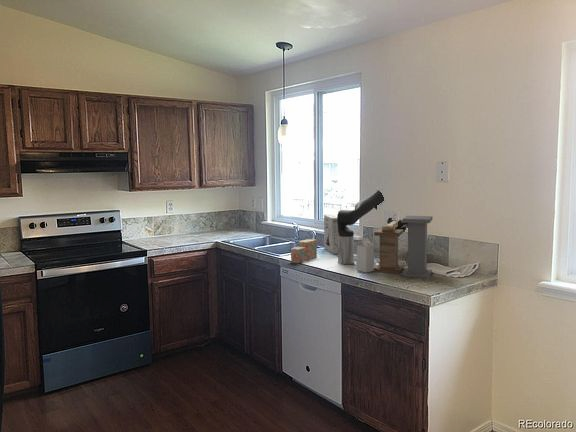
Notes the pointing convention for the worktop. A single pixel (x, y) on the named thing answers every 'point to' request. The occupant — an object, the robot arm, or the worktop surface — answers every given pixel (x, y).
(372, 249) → the milk carton
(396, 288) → the worktop surface
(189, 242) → the worktop surface
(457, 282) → the worktop surface
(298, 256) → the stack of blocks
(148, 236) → the worktop surface
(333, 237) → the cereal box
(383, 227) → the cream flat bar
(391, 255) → the walnut stand
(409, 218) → the charcoal pedestal
